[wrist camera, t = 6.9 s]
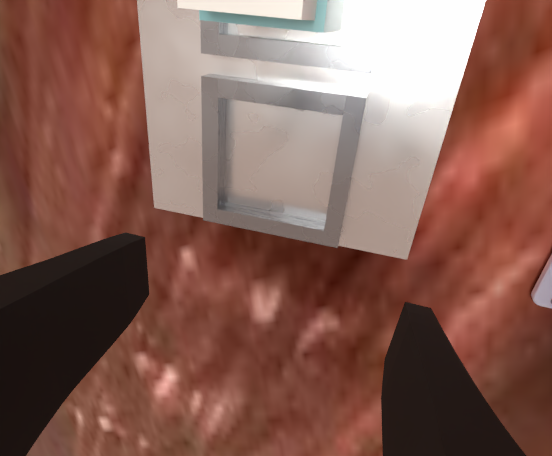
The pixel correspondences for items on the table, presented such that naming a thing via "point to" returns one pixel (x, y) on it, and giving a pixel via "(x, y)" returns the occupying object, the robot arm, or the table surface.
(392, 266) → the table surface
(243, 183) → the panel
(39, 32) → the table surface
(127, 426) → the table surface
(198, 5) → the plug
